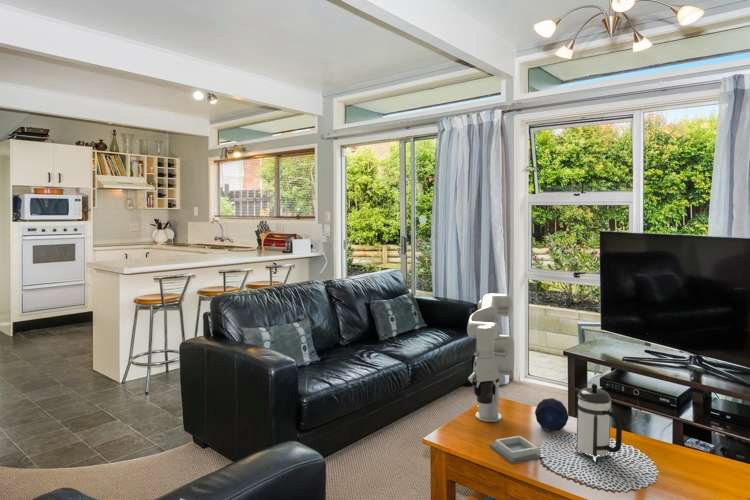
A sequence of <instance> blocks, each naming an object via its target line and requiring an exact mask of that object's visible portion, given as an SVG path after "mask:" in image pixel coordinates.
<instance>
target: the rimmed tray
mask: <svg viewBox="0 0 750 500" xmlns="http://www.w3.org/2000/svg"><path fill="white" fill-rule="evenodd" d="M488 446H489V448H490V449H492V450H493V452H496V453H497V454H498V455H499V456H501V458H503V459H504V460H506V462H508V463H510V465H511V464H516V463H521V462H527V461H532V460H537V459H541V458H540V456H541V455H540V452H541V451H540V450H539V447H537V446H536V445H535V444H533V443H531V442H530V441H528V440H527V439H526V438H524V437H523V436H521V435H515V436H511V437H504V438H498V439H495V440H494V443H489V445H488Z"/></svg>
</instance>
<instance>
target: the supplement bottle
mask: <svg viewBox="0 0 750 500" xmlns="http://www.w3.org/2000/svg"><path fill="white" fill-rule="evenodd" d="M479 388H480V396H479V397H478V396H476V402H477V403H478V404H479V403H481V404H490V403H492V401H493V382H492V381H486V382H480V384H479Z"/></svg>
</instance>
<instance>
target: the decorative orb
mask: <svg viewBox="0 0 750 500" xmlns="http://www.w3.org/2000/svg"><path fill="white" fill-rule="evenodd" d="M565 406H566V405H564V404H563V402H562V401H560V400H558V399H556V398H553V397H552V398H544V399H542V400H541V401H539V403H538V404H537V406H536V408H535V410H534V414H535V418H536V421H537V423H538V425H539V426H540V427H541V428H542V429H544V430H546V431H549V432H560V431H561V430H562V429H563V428H564V427H565V426H566V425H567V423H568V420H569V418H570V417H569V412H568V410H567V407H565Z"/></svg>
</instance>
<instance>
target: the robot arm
mask: <svg viewBox="0 0 750 500" xmlns="http://www.w3.org/2000/svg"><path fill="white" fill-rule="evenodd" d="M513 305H514V304H513V300H512V298H511V296H510V295H508V294H507V293H506V294H505V293H486V294H485V295H483V296H482V298H481V300H479V301H478V303H477V310H476V311H475V312H473V313H471V315H470V316H469V317H468V320H467V321H468V322H467V327H466V331H467V335H468V337H470V338H472V339H476V350H475V352H473V355H474V356H475V357H474V361H473V366H472V367H473V368H472V373H471V374H470V375H469V376H468V378H467V379H468V381H469V382H470V383H471V384H472V386H474V387H473V389H474V391H473V392H474V395H475V396H476V397H477V396H478V397H479V396H480V388H479V384H480V382H486V381H492V382H493V401H492V403H490V404H481V403H479V402H478V404H477V405H476V408H477V409H478V411H476V413H475V418H476V419H477V420H479V421H482V422H485V423H496V422H499V421H501V420H502V418H503V417H502V414H501V413H499V407H500V406H499V403H500V402H499V397H500V395H499V389H500V383H499V382H500V379H502V377H503V376H511V375H513V373H514V371H515V340H514V338H513V336H511V335H509V334H501V328H500V325H499V323H498V321H497V319H498V317H510V316H511V315H512V314H513V310H514V306H513Z"/></svg>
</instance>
